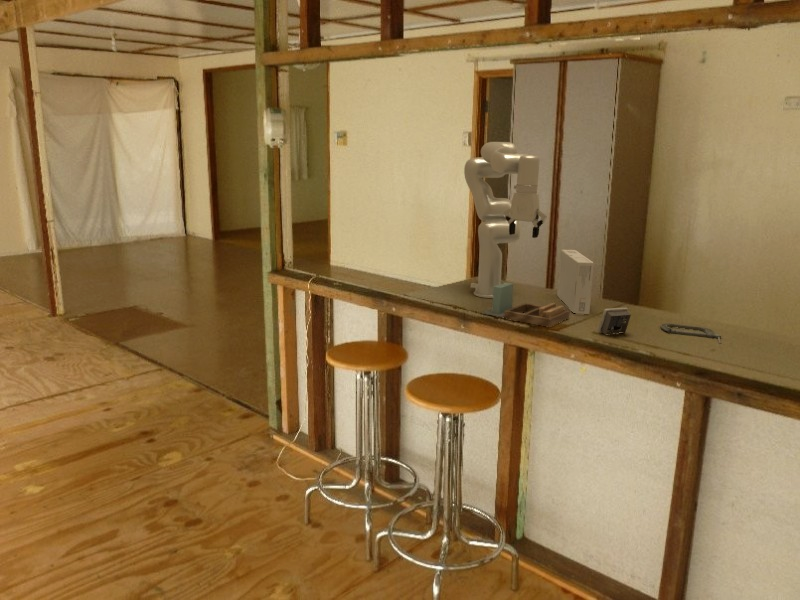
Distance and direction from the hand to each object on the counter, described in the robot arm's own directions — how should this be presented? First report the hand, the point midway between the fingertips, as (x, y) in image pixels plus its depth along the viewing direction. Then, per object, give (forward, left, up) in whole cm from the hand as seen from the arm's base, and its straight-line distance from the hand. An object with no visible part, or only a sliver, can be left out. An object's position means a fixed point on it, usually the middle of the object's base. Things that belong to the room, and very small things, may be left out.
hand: (523, 235), depth 251 cm
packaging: (+11, +25, -30) cm, 40 cm away
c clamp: (+59, +13, -30) cm, 68 cm away
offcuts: (+16, -5, -29) cm, 33 cm away
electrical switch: (+39, -5, -30) cm, 49 cm away
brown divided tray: (+10, -5, -29) cm, 31 cm away
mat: (-4, -5, -29) cm, 30 cm away
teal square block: (-4, -5, -29) cm, 29 cm away
